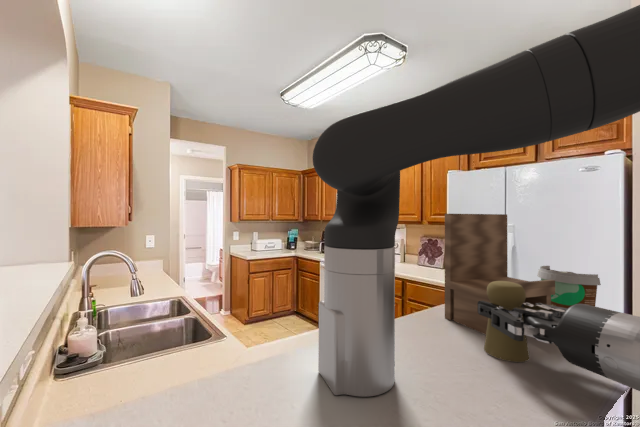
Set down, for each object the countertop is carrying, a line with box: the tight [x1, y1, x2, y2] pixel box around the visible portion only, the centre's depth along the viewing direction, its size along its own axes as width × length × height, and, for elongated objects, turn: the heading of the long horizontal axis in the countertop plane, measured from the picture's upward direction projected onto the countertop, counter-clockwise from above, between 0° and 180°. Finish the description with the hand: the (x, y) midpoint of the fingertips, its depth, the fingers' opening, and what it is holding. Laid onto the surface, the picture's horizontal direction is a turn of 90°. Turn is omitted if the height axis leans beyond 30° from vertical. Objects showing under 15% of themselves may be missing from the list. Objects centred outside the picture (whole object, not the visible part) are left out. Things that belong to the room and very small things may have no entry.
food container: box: [537, 265, 601, 308], centre depth 66 cm, size 12×6×10 cm, turn 6°
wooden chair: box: [444, 213, 555, 336], centre depth 61 cm, size 16×12×22 cm
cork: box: [483, 281, 531, 363], centre depth 47 cm, size 6×6×11 cm
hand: (490, 305), depth 50 cm, fingers closed on cork, 4 cm apart
